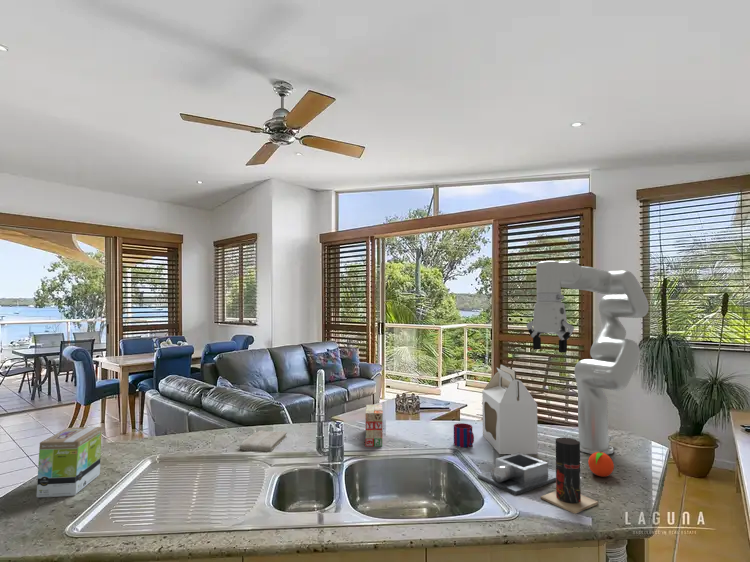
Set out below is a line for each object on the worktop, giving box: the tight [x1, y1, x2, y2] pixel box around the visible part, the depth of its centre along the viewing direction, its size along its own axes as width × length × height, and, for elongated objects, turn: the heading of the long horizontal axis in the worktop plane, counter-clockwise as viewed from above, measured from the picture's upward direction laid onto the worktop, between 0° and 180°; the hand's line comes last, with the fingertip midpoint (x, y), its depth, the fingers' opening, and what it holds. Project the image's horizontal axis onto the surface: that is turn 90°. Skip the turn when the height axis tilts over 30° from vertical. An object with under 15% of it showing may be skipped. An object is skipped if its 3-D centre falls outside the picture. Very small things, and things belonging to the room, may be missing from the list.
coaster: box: [540, 490, 599, 515], centre depth 118 cm, size 10×10×1 cm
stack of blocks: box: [364, 404, 384, 447], centre depth 172 cm, size 21×6×12 cm, turn 0°
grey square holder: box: [477, 452, 556, 496], centre depth 133 cm, size 22×14×5 cm, turn 123°
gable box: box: [481, 364, 539, 455], centre depth 165 cm, size 22×13×28 cm, turn 2°
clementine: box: [587, 452, 615, 478], centre depth 135 cm, size 8×7×7 cm
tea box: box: [36, 426, 103, 498], centre depth 127 cm, size 15×10×15 cm, turn 9°
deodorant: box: [555, 437, 582, 504], centre depth 119 cm, size 6×6×15 cm
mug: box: [453, 422, 475, 449], centre depth 162 cm, size 7×10×7 cm
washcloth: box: [239, 429, 288, 452], centre depth 165 cm, size 12×18×3 cm, turn 174°
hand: (549, 350), depth 147 cm, fingers open, 9 cm apart
